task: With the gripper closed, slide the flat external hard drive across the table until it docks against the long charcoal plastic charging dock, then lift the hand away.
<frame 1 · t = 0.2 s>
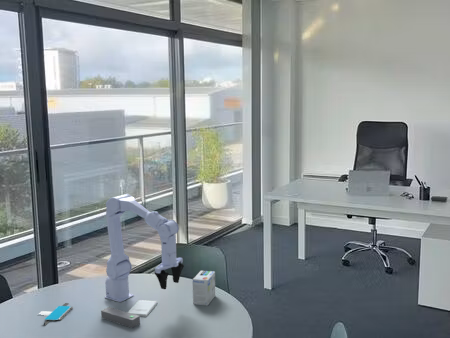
hand: (169, 285, 184), 10 cm above the table, fingers open, 7 cm apart
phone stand: (54, 315, 184), on the table
light bulb box: (204, 300, 195), on the table
charging dock: (120, 320, 177), on the table
external hard drive: (142, 311, 187), on the table
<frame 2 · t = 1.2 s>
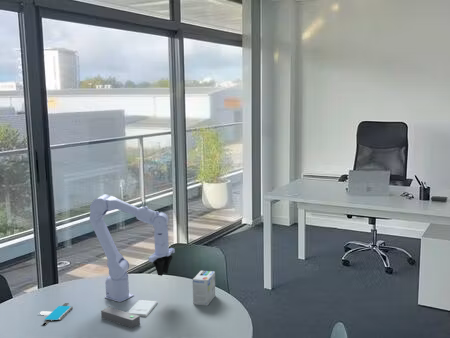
hand: (162, 273, 196), 10 cm above the table, fingers open, 3 cm apart
nothing on the table moved.
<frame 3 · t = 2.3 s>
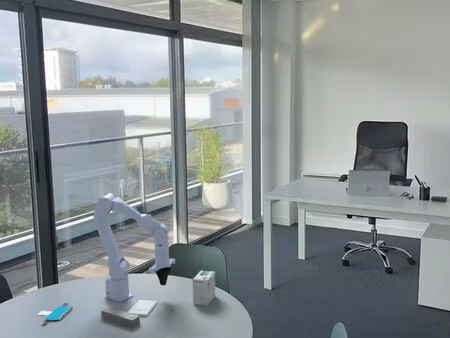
hand: (163, 284, 197), 6 cm above the table, fingers closed
nothing on the table moved.
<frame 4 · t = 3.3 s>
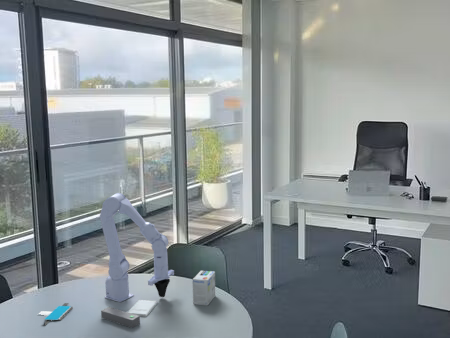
hand: (162, 296, 197), 1 cm above the table, fingers closed
nothing on the table moved.
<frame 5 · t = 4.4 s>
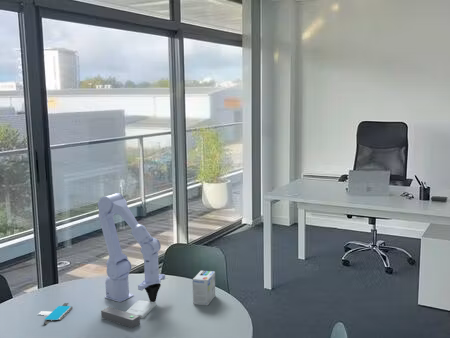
hand: (152, 301, 192), 1 cm above the table, fingers closed
external hard drive: (140, 311, 186), on the table, touching gripper
everything else where it was.
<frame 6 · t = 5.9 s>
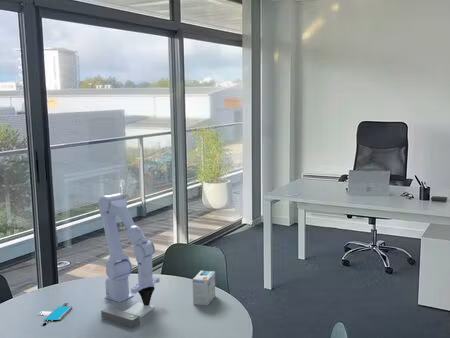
hand: (146, 304, 189), 1 cm above the table, fingers closed
external hard drive: (136, 314, 184), on the table
everything else where it was.
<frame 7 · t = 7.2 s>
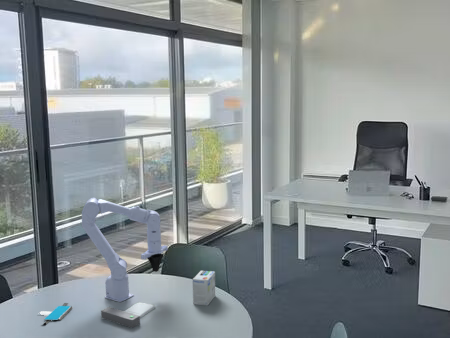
hand: (155, 271, 200), 10 cm above the table, fingers closed
nothing on the table moved.
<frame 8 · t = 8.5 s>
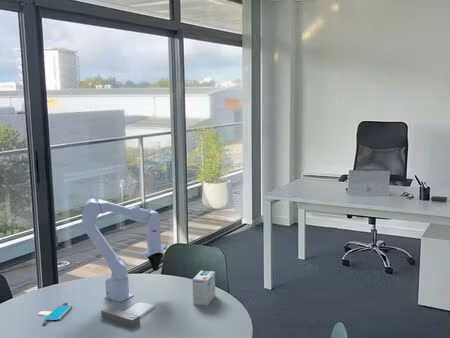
hand: (155, 270, 201), 10 cm above the table, fingers closed
nothing on the table moved.
at the end: external hard drive 0.9 cm from the target spot, on the table; external hard drive moved 3.2 cm from its start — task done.
